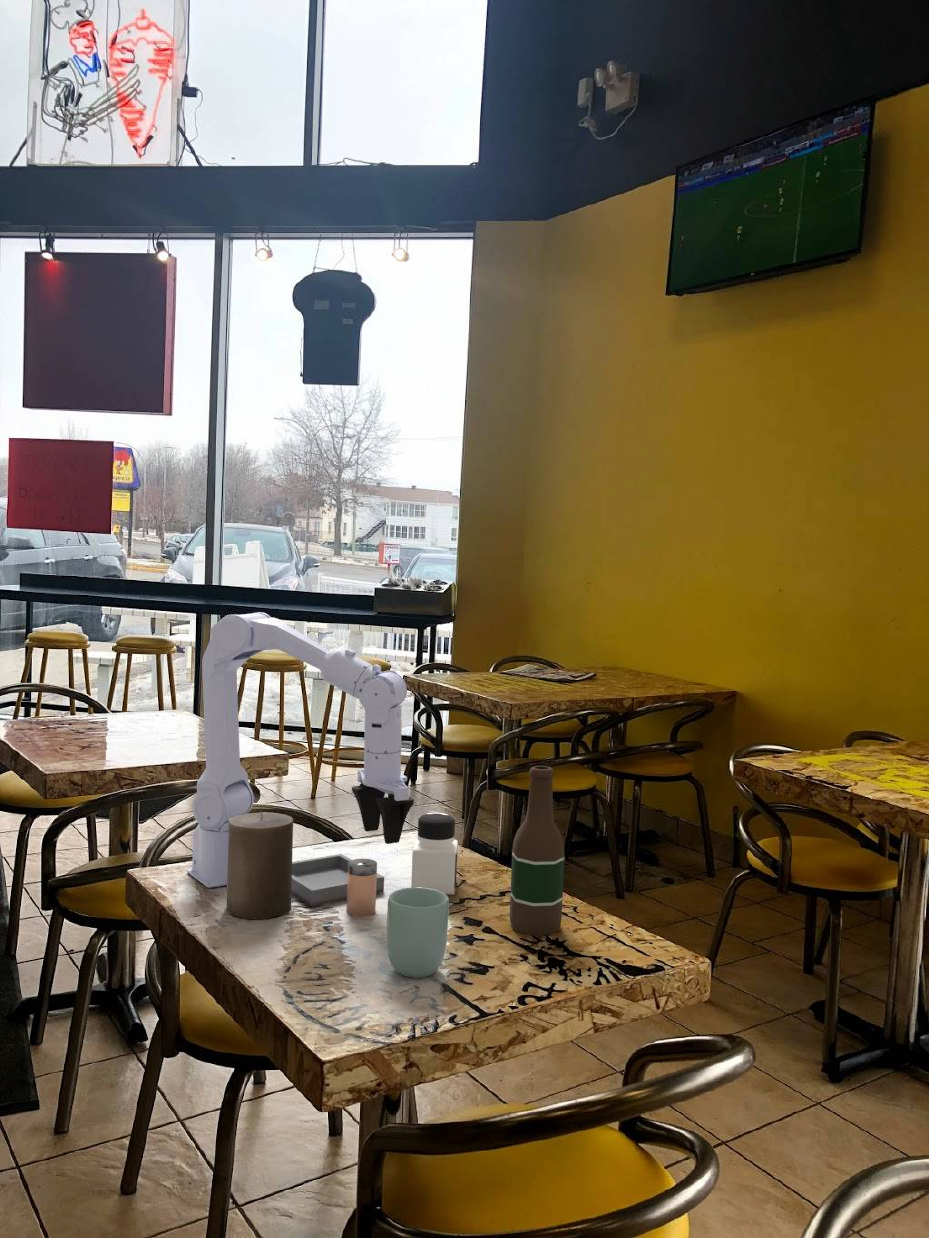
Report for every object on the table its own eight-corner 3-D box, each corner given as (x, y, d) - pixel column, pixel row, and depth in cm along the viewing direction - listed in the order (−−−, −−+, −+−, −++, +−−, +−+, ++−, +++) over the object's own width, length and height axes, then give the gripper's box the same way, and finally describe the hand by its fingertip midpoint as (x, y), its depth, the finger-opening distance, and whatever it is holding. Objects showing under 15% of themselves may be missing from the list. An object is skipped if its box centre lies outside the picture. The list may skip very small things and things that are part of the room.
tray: (271, 880, 164) (271, 865, 164) (340, 868, 171) (341, 853, 171) (311, 906, 152) (312, 890, 152) (383, 892, 160) (384, 876, 160)
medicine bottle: (455, 895, 160) (458, 822, 159) (410, 893, 160) (413, 820, 159) (456, 880, 167) (459, 810, 166) (413, 879, 167) (416, 808, 167)
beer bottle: (558, 939, 143) (565, 775, 142) (505, 933, 145) (511, 770, 143) (563, 920, 151) (570, 764, 149) (513, 914, 152) (519, 760, 151)
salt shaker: (341, 909, 152) (342, 861, 151) (365, 904, 154) (367, 856, 154) (355, 918, 148) (357, 869, 148) (380, 913, 151) (382, 864, 150)
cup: (413, 954, 136) (416, 882, 135) (457, 971, 131) (460, 897, 130) (373, 971, 130) (376, 896, 129) (418, 989, 125) (421, 912, 124)
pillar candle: (290, 919, 147) (294, 819, 146) (222, 920, 145) (226, 819, 145) (291, 897, 156) (294, 803, 156) (228, 898, 155) (230, 803, 154)
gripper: (427, 756, 150) (425, 844, 151) (385, 740, 163) (384, 822, 163) (384, 760, 147) (383, 851, 147) (346, 743, 159) (345, 827, 160)
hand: (381, 836), depth 155 cm, fingers open, 7 cm apart
